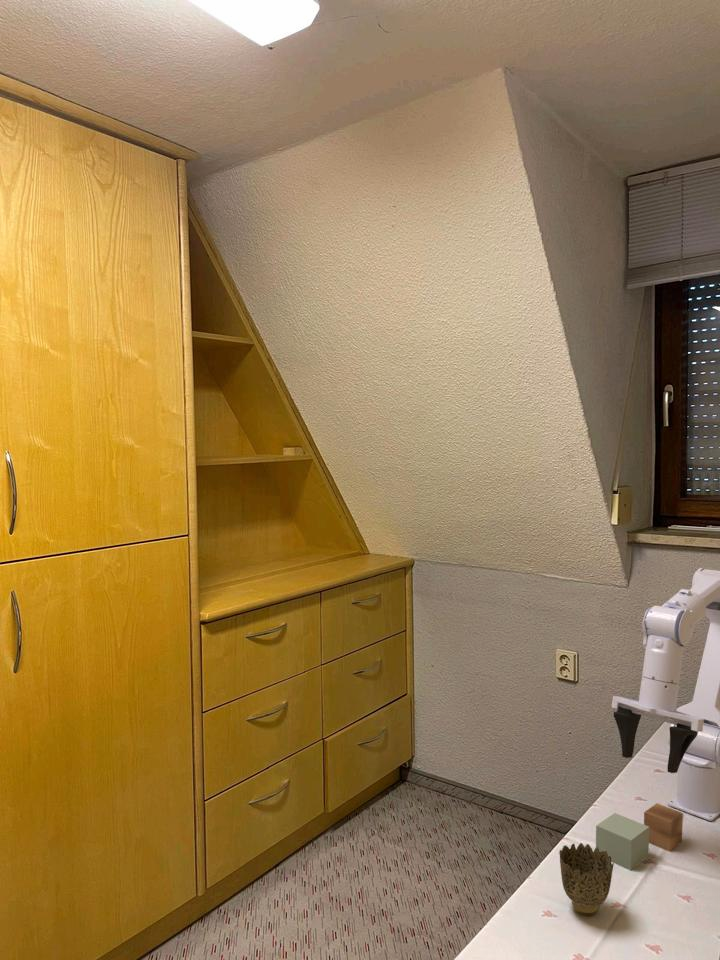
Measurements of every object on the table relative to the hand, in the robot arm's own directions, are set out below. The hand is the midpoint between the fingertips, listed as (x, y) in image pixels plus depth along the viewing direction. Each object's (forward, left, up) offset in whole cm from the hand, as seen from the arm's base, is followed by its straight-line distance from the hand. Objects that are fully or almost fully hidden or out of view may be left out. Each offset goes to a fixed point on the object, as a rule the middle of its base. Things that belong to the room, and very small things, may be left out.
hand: (649, 764), depth 120 cm
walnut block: (-5, 0, -15) cm, 16 cm away
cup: (+21, +1, -15) cm, 26 cm away
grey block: (+4, -2, -15) cm, 16 cm away
